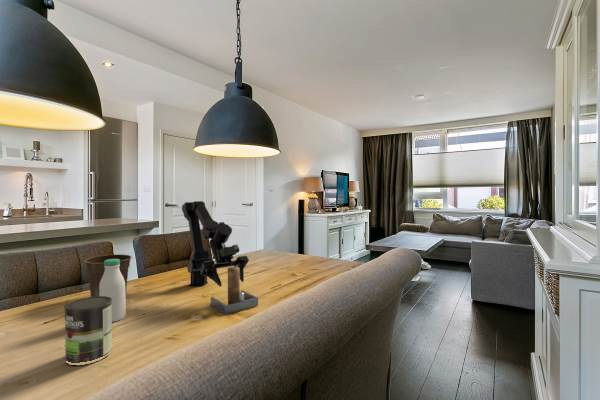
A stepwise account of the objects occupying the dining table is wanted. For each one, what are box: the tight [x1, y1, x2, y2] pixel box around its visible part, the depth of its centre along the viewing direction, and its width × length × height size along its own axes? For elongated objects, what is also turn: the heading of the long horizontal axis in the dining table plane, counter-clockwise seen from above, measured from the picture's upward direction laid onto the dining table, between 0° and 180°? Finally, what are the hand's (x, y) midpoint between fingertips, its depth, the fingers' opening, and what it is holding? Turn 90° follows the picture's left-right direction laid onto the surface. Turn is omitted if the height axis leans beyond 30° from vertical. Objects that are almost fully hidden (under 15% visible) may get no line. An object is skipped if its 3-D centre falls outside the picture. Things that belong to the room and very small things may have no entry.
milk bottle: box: [99, 259, 127, 323], centre depth 106 cm, size 8×8×20 cm
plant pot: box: [84, 254, 132, 297], centre depth 127 cm, size 16×16×16 cm
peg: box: [227, 266, 241, 304], centre depth 119 cm, size 4×4×14 cm
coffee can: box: [63, 296, 113, 363], centre depth 82 cm, size 10×10×14 cm
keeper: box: [210, 290, 259, 315], centre depth 118 cm, size 12×14×6 cm
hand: (232, 283), depth 120 cm, fingers open, 9 cm apart
